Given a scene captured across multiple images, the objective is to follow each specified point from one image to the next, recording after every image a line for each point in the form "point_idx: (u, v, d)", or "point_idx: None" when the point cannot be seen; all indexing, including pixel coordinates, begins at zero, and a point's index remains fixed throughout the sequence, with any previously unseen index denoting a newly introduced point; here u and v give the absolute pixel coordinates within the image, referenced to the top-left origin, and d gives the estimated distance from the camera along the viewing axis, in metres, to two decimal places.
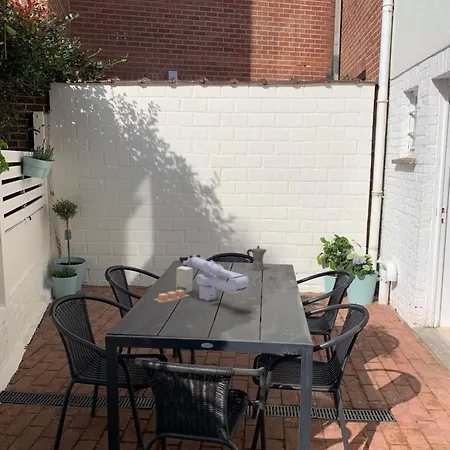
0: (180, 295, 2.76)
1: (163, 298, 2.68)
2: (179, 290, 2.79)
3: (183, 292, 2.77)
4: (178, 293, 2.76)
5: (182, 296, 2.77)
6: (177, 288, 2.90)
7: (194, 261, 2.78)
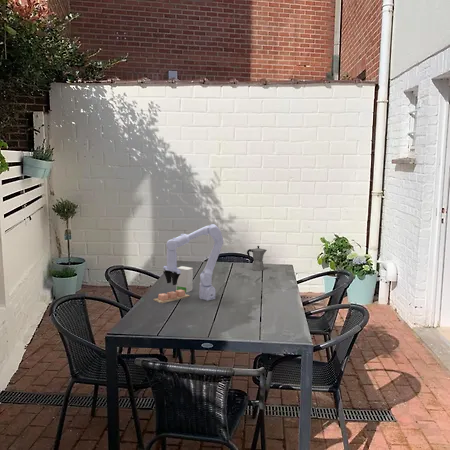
0: (180, 295, 2.76)
1: (163, 298, 2.68)
2: (179, 290, 2.79)
3: (183, 292, 2.77)
4: (178, 293, 2.76)
5: (182, 296, 2.77)
6: (177, 288, 2.90)
7: (172, 264, 2.69)
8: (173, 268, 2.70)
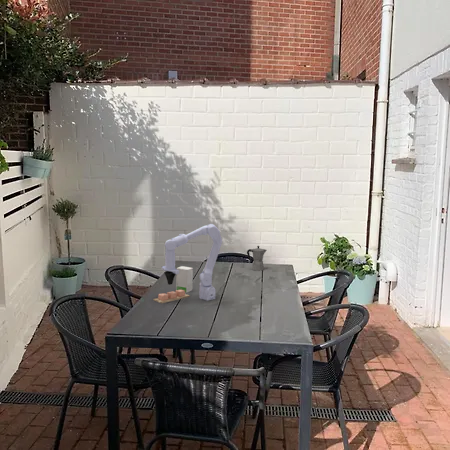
0: (180, 295, 2.76)
1: (163, 298, 2.68)
2: (179, 290, 2.79)
3: (183, 292, 2.77)
4: (178, 293, 2.76)
5: (182, 296, 2.77)
6: (177, 288, 2.90)
7: (171, 264, 2.69)
8: (171, 268, 2.69)
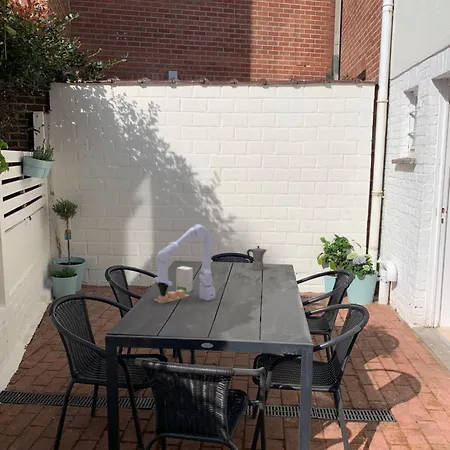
0: (180, 295, 2.76)
1: (163, 299, 2.68)
2: (179, 290, 2.79)
3: (183, 292, 2.77)
4: (178, 293, 2.76)
5: (182, 296, 2.77)
6: (177, 288, 2.90)
7: (164, 276, 2.66)
8: (164, 280, 2.66)
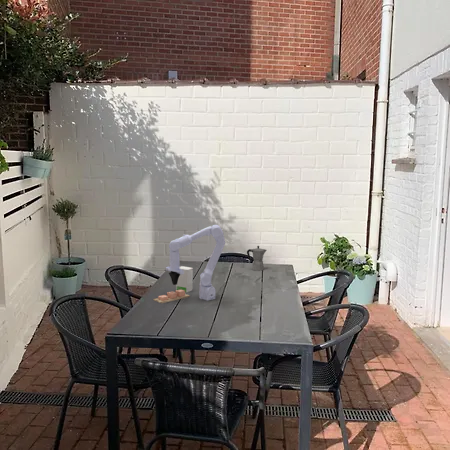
0: (180, 295, 2.76)
1: (163, 300, 2.68)
2: (179, 290, 2.79)
3: (183, 292, 2.77)
4: (178, 293, 2.76)
5: (182, 296, 2.77)
6: (177, 288, 2.90)
7: (175, 264, 2.71)
8: (176, 269, 2.71)
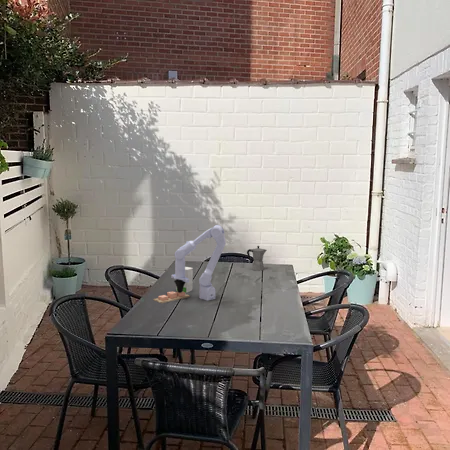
0: None
1: (163, 300, 2.68)
2: None
3: (183, 294, 2.78)
4: (178, 295, 2.76)
5: (182, 296, 2.77)
6: None
7: (181, 273, 2.74)
8: (181, 277, 2.75)
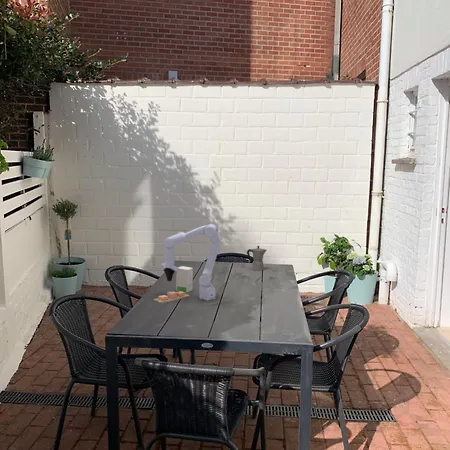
0: None
1: (163, 300, 2.68)
2: (179, 292, 2.79)
3: (183, 294, 2.78)
4: (178, 295, 2.76)
5: (182, 296, 2.77)
6: (177, 288, 2.90)
7: (170, 261, 2.74)
8: (171, 265, 2.75)
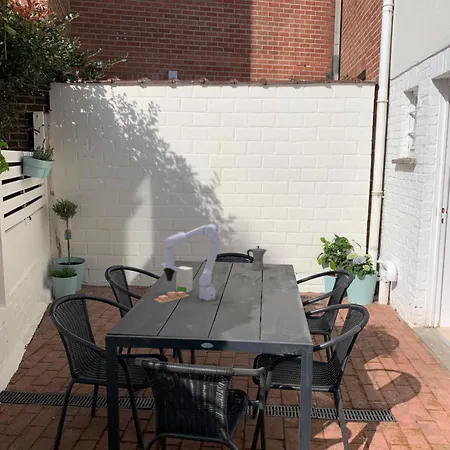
0: None
1: (163, 300, 2.68)
2: (179, 292, 2.79)
3: (183, 294, 2.78)
4: (178, 295, 2.76)
5: (182, 296, 2.77)
6: (177, 288, 2.90)
7: (170, 261, 2.74)
8: (171, 265, 2.75)
